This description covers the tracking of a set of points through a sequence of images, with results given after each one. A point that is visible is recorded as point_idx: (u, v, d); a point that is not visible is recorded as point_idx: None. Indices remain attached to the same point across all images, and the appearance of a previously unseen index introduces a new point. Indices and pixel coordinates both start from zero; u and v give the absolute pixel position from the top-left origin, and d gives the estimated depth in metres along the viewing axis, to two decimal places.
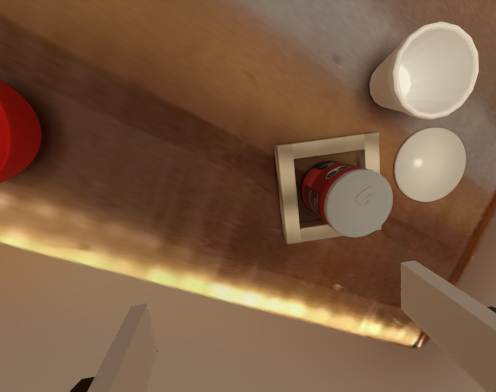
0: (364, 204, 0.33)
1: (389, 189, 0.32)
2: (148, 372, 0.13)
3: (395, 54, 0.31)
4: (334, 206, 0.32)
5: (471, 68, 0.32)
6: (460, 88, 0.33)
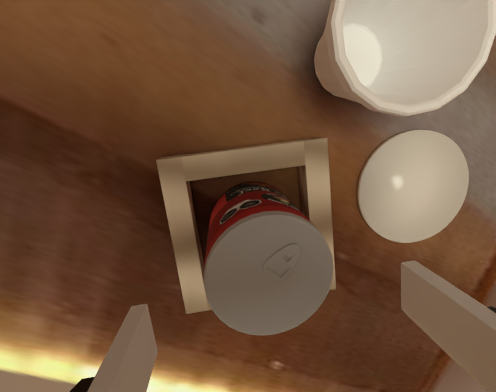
0: (279, 276, 0.17)
1: (326, 250, 0.17)
2: (148, 372, 0.13)
3: None
4: (221, 282, 0.17)
5: (484, 19, 0.17)
6: (463, 59, 0.18)
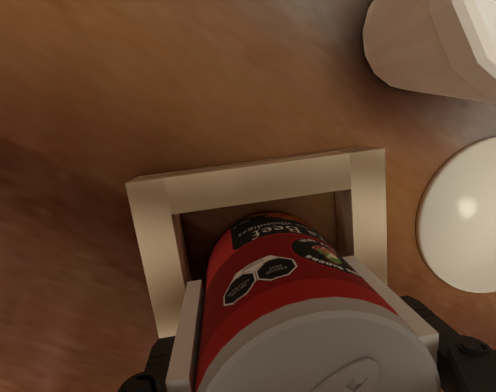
0: None
1: (430, 372, 0.09)
2: None
3: None
4: None
5: None
6: None
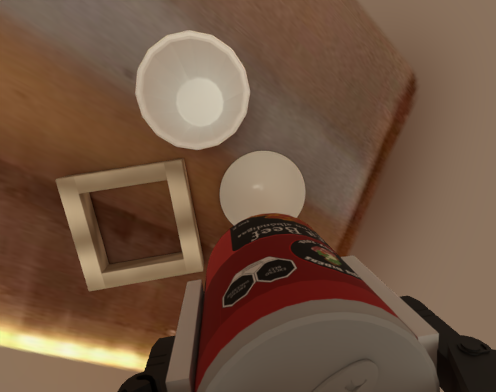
0: None
1: (429, 373, 0.09)
2: None
3: None
4: None
5: (241, 87, 0.26)
6: (237, 111, 0.27)
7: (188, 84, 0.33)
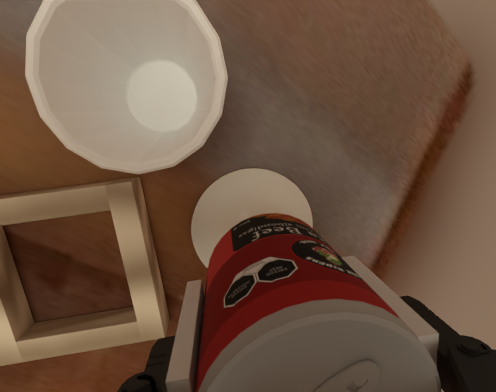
0: None
1: (431, 374, 0.09)
2: None
3: None
4: None
5: (214, 69, 0.15)
6: (207, 110, 0.16)
7: (144, 70, 0.23)
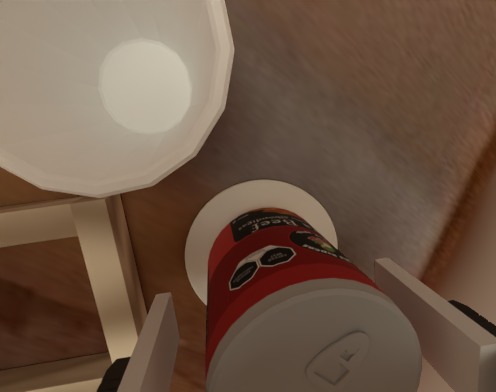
0: (332, 385, 0.10)
1: (412, 342, 0.10)
2: (174, 355, 0.14)
3: None
4: None
5: (213, 38, 0.10)
6: (203, 101, 0.11)
7: (122, 53, 0.17)
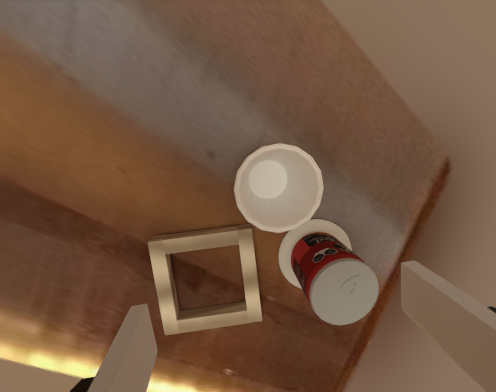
0: (349, 293, 0.32)
1: (375, 279, 0.32)
2: (148, 372, 0.13)
3: (237, 172, 0.32)
4: (319, 294, 0.32)
5: (317, 184, 0.32)
6: (310, 201, 0.33)
7: (259, 165, 0.40)
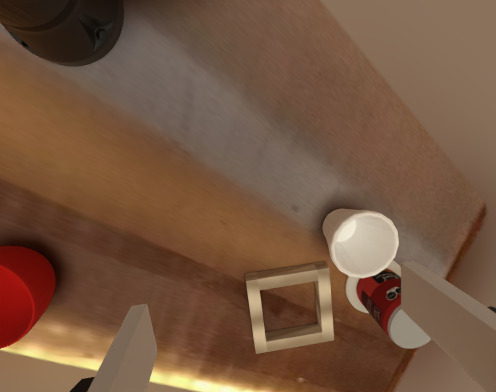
0: None
1: None
2: (148, 372, 0.13)
3: (332, 233, 0.40)
4: (396, 326, 0.41)
5: (393, 241, 0.41)
6: (386, 252, 0.42)
7: None
